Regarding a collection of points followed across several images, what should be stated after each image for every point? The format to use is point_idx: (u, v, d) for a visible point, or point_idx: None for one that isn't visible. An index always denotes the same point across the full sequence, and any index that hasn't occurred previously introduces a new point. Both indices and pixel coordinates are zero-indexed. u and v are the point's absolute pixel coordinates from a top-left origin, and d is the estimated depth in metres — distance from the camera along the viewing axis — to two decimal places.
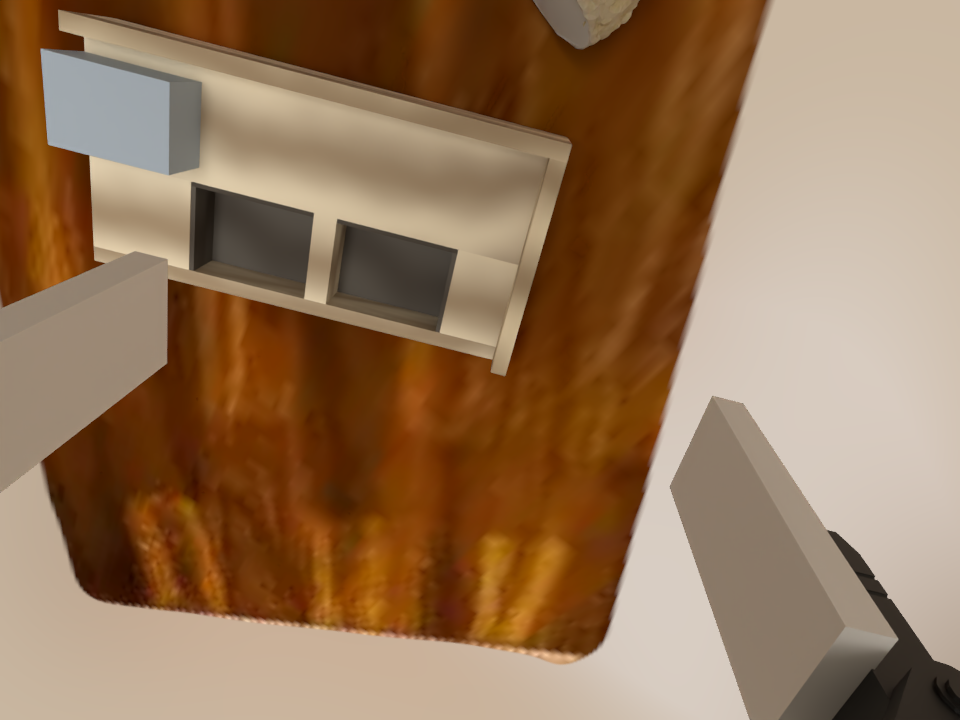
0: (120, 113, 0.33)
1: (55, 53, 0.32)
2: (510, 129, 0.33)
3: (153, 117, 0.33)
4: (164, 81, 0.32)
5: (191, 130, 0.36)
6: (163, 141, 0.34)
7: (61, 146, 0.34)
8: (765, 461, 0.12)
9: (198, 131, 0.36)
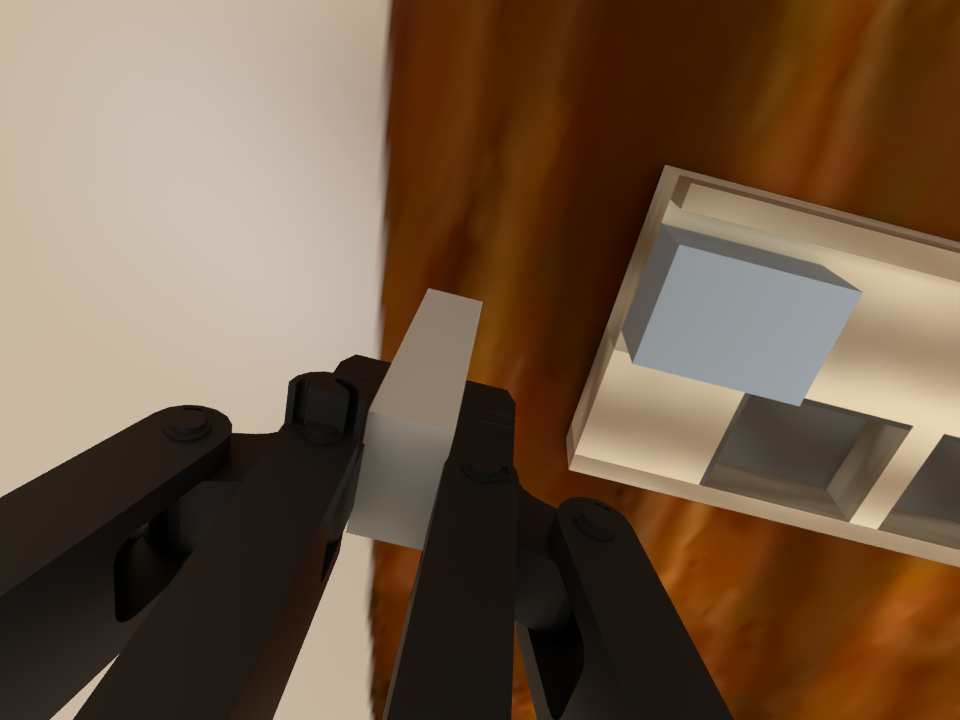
0: (764, 329, 0.23)
1: (699, 251, 0.22)
2: None
3: (813, 335, 0.23)
4: (854, 290, 0.22)
5: None
6: (814, 365, 0.23)
7: (652, 366, 0.24)
8: (458, 334, 0.14)
9: None
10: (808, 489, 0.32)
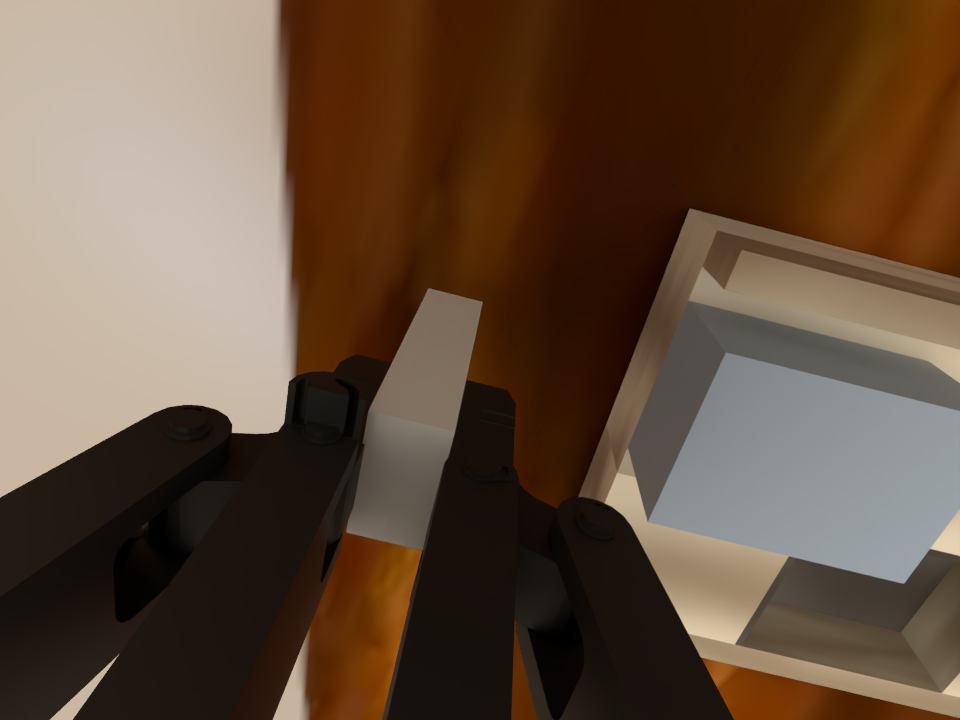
0: (856, 478, 0.14)
1: (758, 362, 0.13)
2: None
3: (934, 487, 0.14)
4: None
5: None
6: (932, 528, 0.15)
7: (678, 527, 0.15)
8: (458, 334, 0.14)
9: None
10: (878, 635, 0.24)
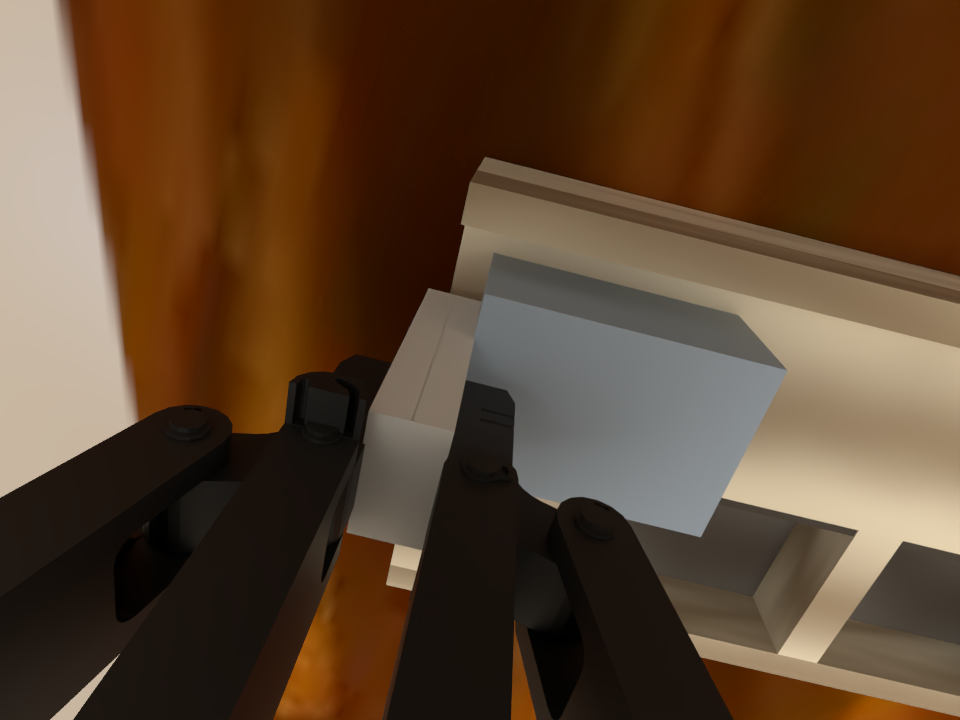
0: (635, 425, 0.14)
1: (519, 304, 0.13)
2: None
3: (714, 434, 0.14)
4: (773, 367, 0.13)
5: None
6: (719, 478, 0.15)
7: None
8: (457, 334, 0.14)
9: None
10: (727, 598, 0.24)
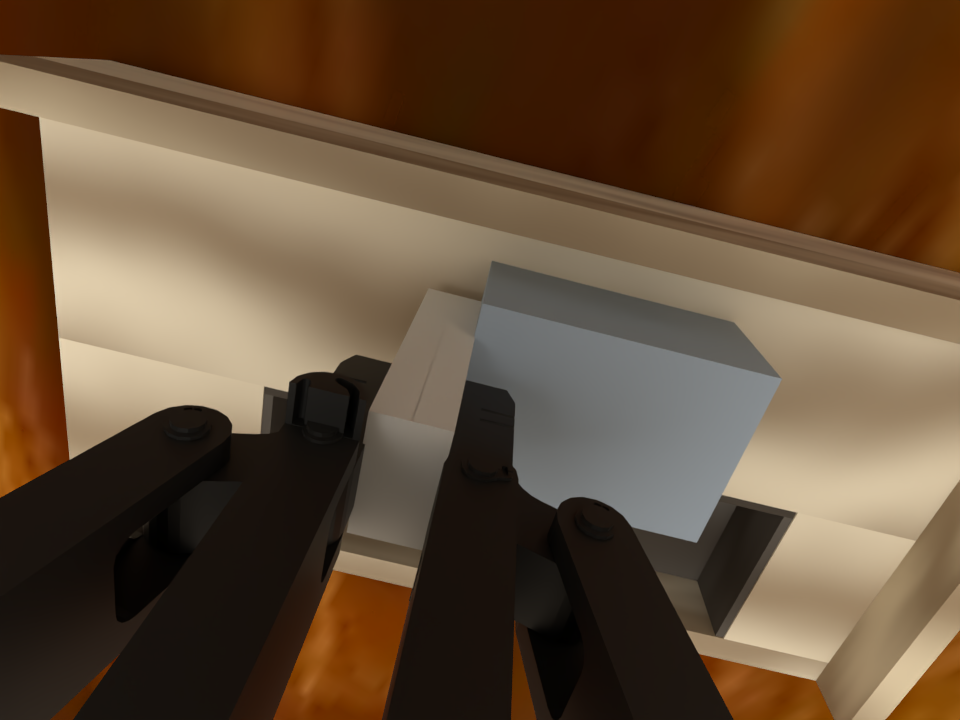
0: (631, 432, 0.14)
1: (516, 314, 0.13)
2: None
3: (709, 442, 0.14)
4: (768, 376, 0.14)
5: None
6: (714, 485, 0.15)
7: None
8: (458, 334, 0.14)
9: None
10: None
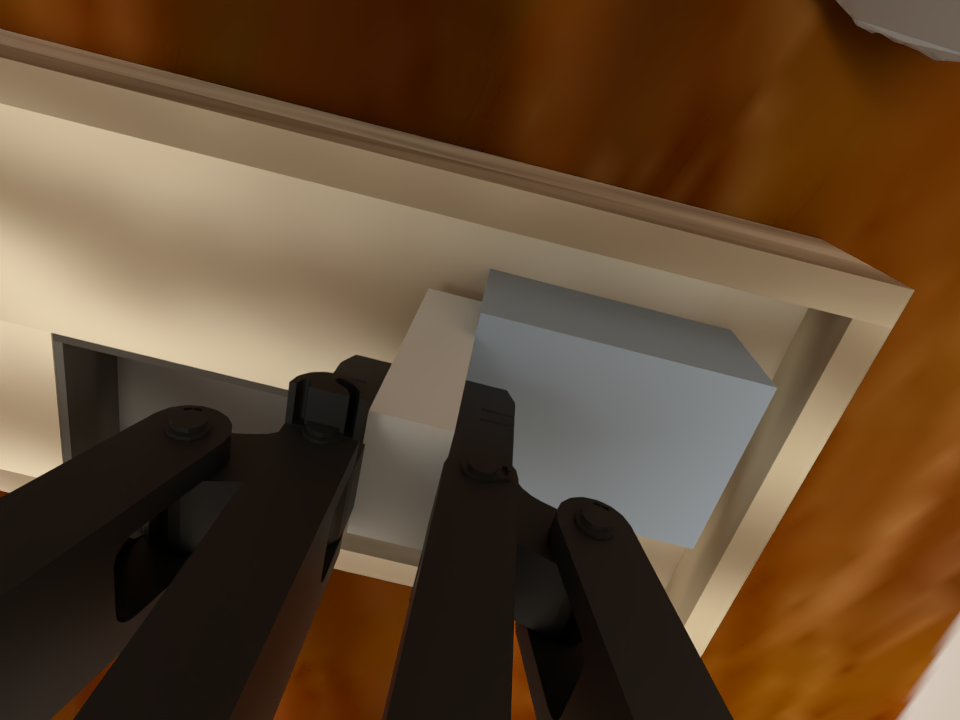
0: (628, 440, 0.15)
1: (514, 323, 0.13)
2: (768, 254, 0.14)
3: (705, 449, 0.14)
4: (763, 385, 0.14)
5: None
6: (710, 492, 0.15)
7: None
8: (457, 334, 0.14)
9: None
10: None
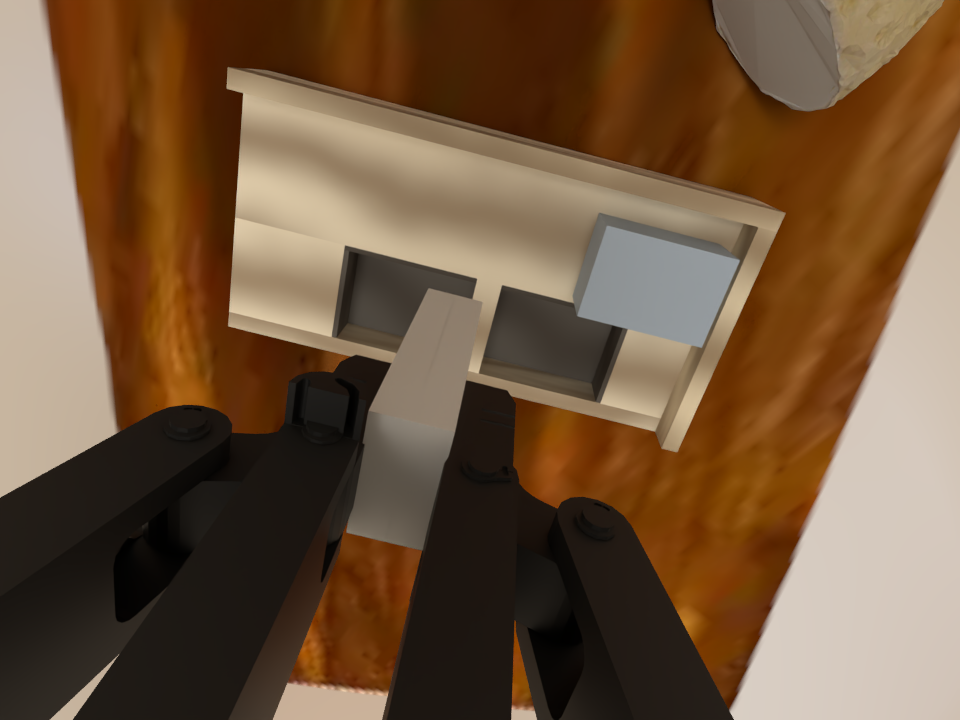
0: (671, 288, 0.31)
1: (621, 230, 0.30)
2: (718, 196, 0.30)
3: (707, 292, 0.31)
4: (734, 259, 0.30)
5: None
6: (709, 315, 0.32)
7: (591, 318, 0.32)
8: (458, 334, 0.14)
9: None
10: None
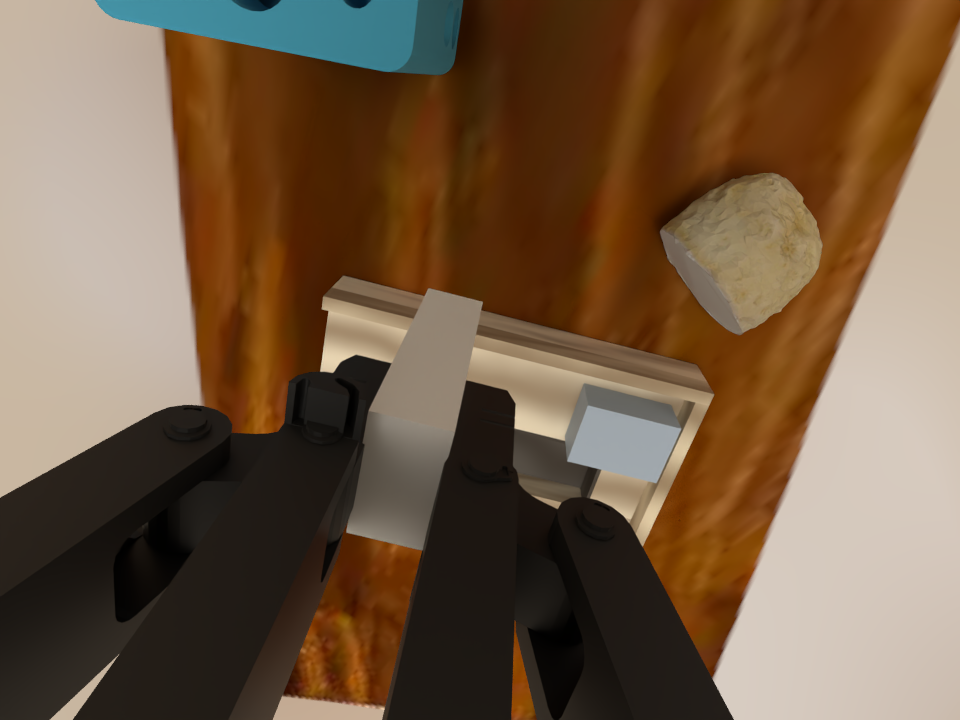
0: (634, 445, 0.44)
1: (598, 408, 0.43)
2: (666, 382, 0.43)
3: (659, 448, 0.44)
4: (677, 427, 0.43)
5: None
6: (661, 462, 0.44)
7: (577, 462, 0.45)
8: (458, 334, 0.14)
9: None
10: None
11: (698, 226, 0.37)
